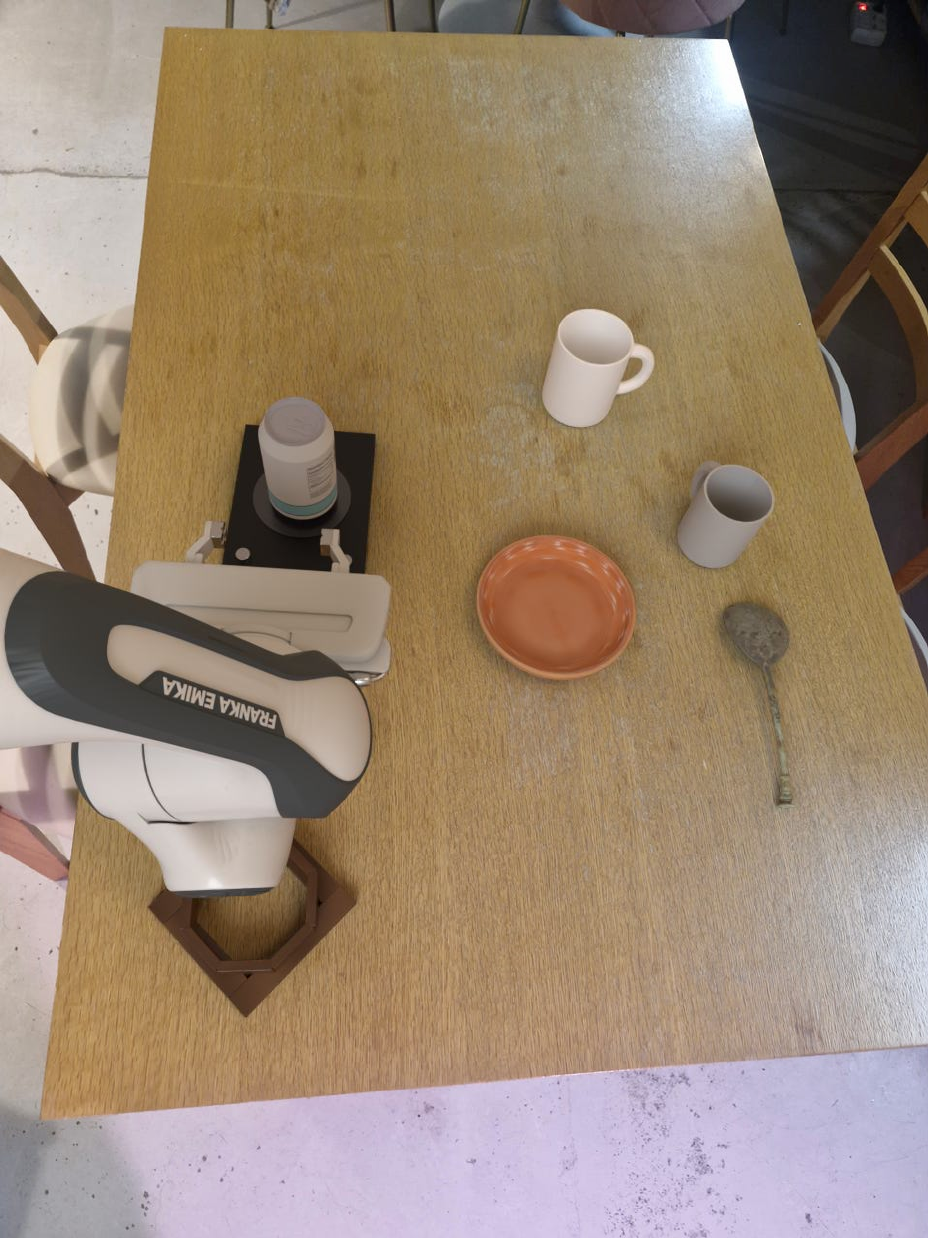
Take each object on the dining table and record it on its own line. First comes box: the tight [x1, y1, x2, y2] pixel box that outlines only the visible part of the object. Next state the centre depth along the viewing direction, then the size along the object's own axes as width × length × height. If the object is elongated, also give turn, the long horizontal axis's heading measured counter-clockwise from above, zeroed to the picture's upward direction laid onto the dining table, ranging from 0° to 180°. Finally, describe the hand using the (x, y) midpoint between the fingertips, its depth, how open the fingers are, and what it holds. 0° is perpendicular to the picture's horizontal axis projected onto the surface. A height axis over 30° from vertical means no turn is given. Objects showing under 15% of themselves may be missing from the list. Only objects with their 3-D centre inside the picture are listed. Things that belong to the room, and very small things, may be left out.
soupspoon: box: [723, 602, 798, 809], centre depth 83 cm, size 22×3×7 cm
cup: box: [676, 459, 776, 569], centre depth 89 cm, size 7×10×9 cm
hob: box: [221, 423, 377, 574], centre depth 88 cm, size 18×14×2 cm
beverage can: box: [258, 396, 337, 519], centre depth 83 cm, size 7×7×12 cm
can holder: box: [147, 836, 357, 1018], centre depth 70 cm, size 12×12×3 cm
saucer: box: [475, 534, 637, 681], centre depth 85 cm, size 16×16×3 cm
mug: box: [541, 308, 655, 428], centre depth 95 cm, size 12×8×10 cm
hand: (274, 528), depth 71 cm, fingers open, 8 cm apart
